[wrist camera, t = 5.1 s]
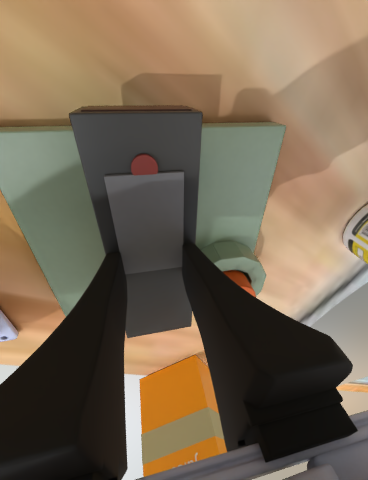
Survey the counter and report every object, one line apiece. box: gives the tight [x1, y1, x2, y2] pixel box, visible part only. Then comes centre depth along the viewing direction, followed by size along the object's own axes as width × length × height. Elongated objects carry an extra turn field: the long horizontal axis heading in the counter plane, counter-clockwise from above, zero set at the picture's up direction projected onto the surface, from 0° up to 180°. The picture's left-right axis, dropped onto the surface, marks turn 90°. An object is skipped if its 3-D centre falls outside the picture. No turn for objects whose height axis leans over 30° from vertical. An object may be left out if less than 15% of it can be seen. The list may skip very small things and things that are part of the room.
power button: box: [223, 270, 256, 297], centre depth 17 cm, size 4×4×2 cm
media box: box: [0, 122, 286, 316], centre depth 15 cm, size 16×14×4 cm
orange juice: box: [140, 355, 227, 477], centre depth 24 cm, size 8×9×20 cm
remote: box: [69, 106, 203, 338], centre depth 12 cm, size 13×4×3 cm, turn 179°
